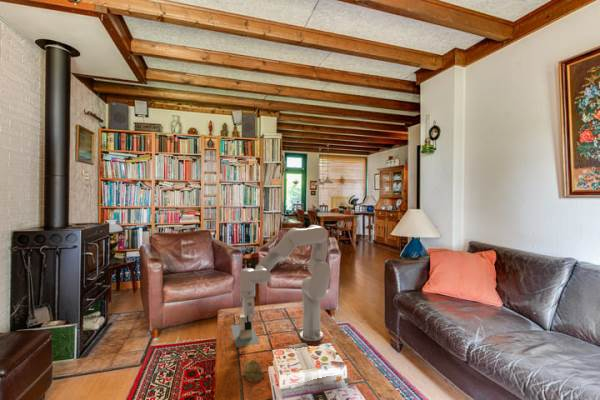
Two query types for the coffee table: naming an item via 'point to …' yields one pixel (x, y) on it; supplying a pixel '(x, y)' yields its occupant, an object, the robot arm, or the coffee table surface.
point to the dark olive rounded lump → (253, 371)
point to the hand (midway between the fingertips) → (247, 329)
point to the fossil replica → (298, 345)
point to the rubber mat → (243, 342)
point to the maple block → (242, 332)
